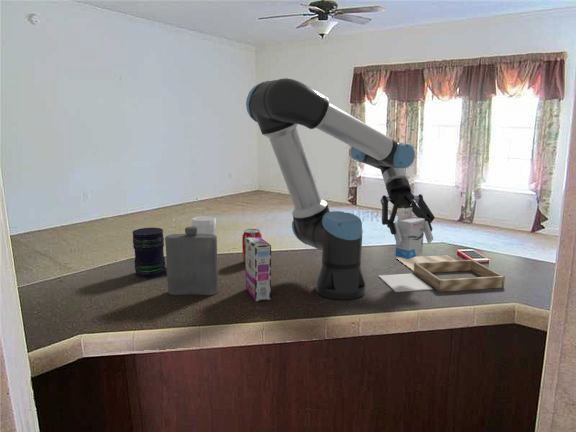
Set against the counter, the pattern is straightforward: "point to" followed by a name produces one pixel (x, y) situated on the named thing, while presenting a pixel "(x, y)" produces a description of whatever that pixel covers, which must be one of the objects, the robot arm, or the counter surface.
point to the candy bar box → (258, 268)
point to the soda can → (248, 234)
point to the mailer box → (445, 263)
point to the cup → (204, 224)
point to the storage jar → (149, 253)
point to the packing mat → (405, 282)
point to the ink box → (410, 234)
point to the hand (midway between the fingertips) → (415, 241)
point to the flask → (192, 263)
